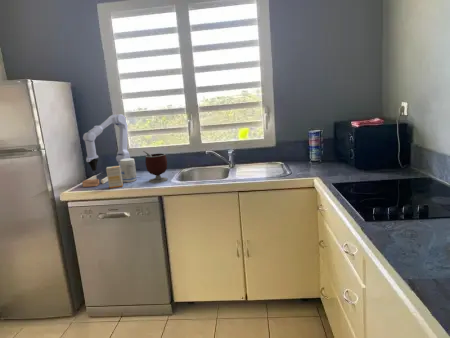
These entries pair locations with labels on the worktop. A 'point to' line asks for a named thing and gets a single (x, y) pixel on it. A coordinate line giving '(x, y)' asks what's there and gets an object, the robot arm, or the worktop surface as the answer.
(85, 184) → the block
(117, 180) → the supplement box
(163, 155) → the mate gourd
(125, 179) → the supplement tub
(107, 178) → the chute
